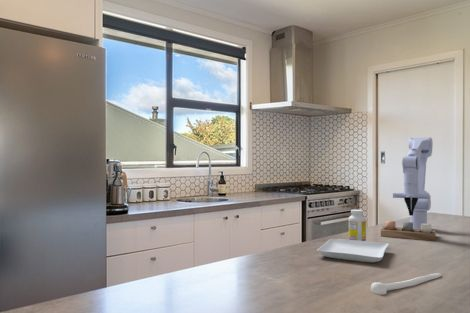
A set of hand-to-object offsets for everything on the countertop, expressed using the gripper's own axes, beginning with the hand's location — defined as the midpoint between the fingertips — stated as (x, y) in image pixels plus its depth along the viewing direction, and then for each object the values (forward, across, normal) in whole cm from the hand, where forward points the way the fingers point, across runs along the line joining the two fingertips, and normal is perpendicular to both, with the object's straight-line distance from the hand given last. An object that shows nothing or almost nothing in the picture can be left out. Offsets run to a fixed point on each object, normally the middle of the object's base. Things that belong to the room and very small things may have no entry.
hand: (411, 215), depth 164 cm
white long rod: (+9, +1, -67) cm, 68 cm away
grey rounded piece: (+7, -1, -1) cm, 7 cm away
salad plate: (+9, -17, -43) cm, 47 cm away
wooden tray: (+9, -1, -1) cm, 9 cm away
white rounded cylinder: (+7, +6, -1) cm, 9 cm away
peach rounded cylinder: (+7, -8, -1) cm, 11 cm away
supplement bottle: (+9, -19, -22) cm, 31 cm away
